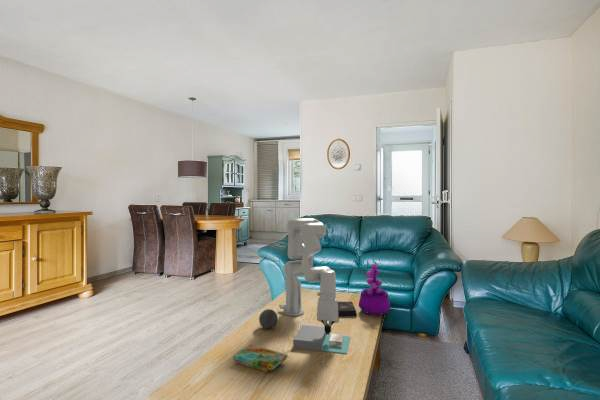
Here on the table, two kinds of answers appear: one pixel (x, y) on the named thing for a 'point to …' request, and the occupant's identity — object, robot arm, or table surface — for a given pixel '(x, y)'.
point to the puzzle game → (259, 358)
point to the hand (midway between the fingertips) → (327, 333)
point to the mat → (332, 348)
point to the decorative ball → (268, 319)
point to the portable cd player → (346, 309)
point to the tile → (336, 340)
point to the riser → (310, 338)
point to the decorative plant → (374, 295)
